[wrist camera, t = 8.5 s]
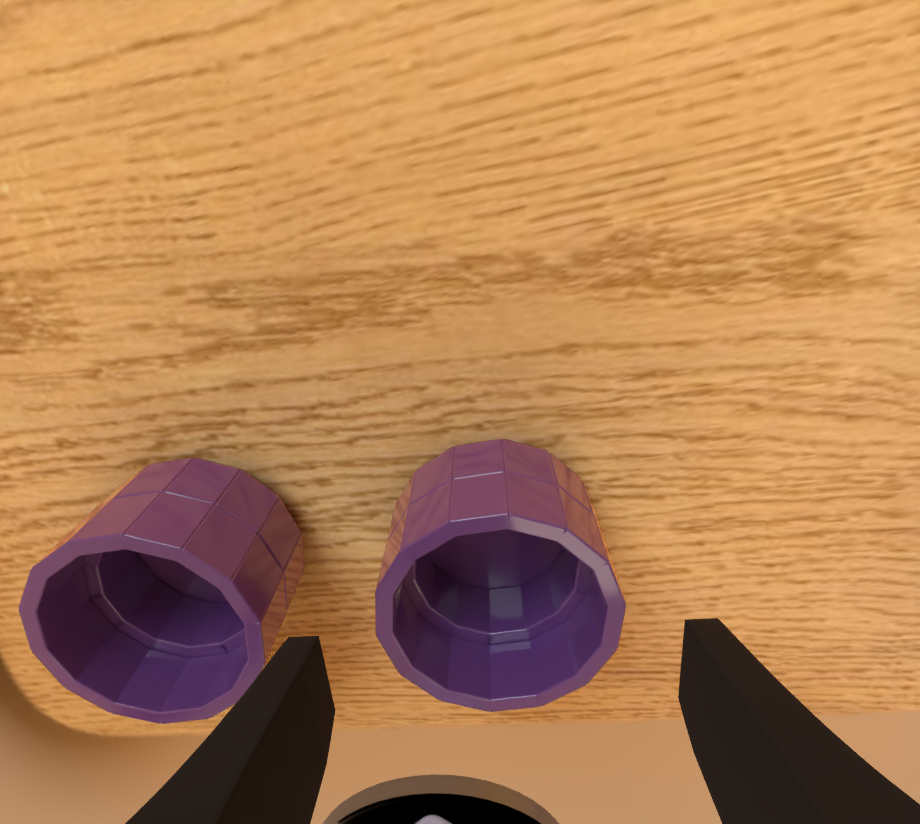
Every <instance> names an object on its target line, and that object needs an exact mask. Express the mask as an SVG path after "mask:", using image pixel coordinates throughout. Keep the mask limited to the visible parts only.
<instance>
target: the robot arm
mask: <svg viewBox="0 0 920 824" xmlns="http://www.w3.org/2000/svg"><path fill="white" fill-rule="evenodd" d="M678 698H679V702H680V705H681V709H682V713H683V716H684V720H685V724H686V727H687V730H688V734H689V737H690V741H691V744H692V748H693V751H694V754H695V756H696V759H697V762H698V764H699V767H700V769H701V771H702V774H703V776H704V779H705V781H706V784H707V787H708V789H709V792H710V794H711V797H712V799H713V802H714V804H715V807H716V809H717V811H718V814H719V816H720V819H721V821H722V824H920V804H918V803H917V802H916V801H915V800H913V799H912V798H911V797H909V796H908V795H907V794H906V793H904V792H903V791H902V790H901V789H899V788H898V787H897V786H895V785H894V784H893V783H891V782H890V781H889V780H888V779H886V778H885V777H884V776H883V775H882V774H880V773H879V772H878V771H877V770H875V769H874V768H873V767H872V766H871V765H870V764H868V763H867V762H866V761H865V760H864V759H863V758H861V757H860V756H859V755H858V754H857V753H856V752H854V751H853V750H852V749H851V748H850V747H849V746H848V745H846V744H845V743H844V742H843V741H842V740H841V739H840V738H838V737H837V736H836V735H835V734H834V733H833V732H832V731H831V730H830V729H829V728H827V727H826V726H825V725H824V724H823V723H822V722H821V721H820V720H819V719H818V718H817V717H815V716H814V715H813V714H812V713H811V712H810V711H809V710H808V709H807V708H806V707H805V706H804V705H803V704H802V703H801V702H800V701H799V700H798V699H797V698H796V697H795V696H794V695H792V694H791V693H790V692H789V691H788V690H787V689H786V688H785V687H784V686H783V685H782V684H781V683H780V682H779V681H778V680H777V679H776V678H775V677H774V676H773V675H772V674H771V673H770V672H769V671H768V670H767V669H766V668H765V667H764V666H763V665H762V664H761V663H760V662H759V661H758V660H757V659H756V658H755V657H754V655H753V654H752V653H751V652H750V651H749V650H748V649H747V648H746V647H745V646H744V645H743V644H742V643H741V642H740V641H739V640H738V639H737V638H736V637H735V636H734V635H733V634H732V633H731V631H730V630H729V629H728V628H727V627H726V626H725V625H724V624H723V623H722V622H721V621H720V620H718V619H717V618H715V619H693V620H685V626H684V638H683V649H682V661H681V672H680V684H679V696H678ZM334 715H335V707H334V703H333V698H332V694H331V689H330V685H329V680H328V676H327V671H326V667H325V662H324V658H323V653H322V649H321V644H320V640H319V636H306V637H289V638H288V639H287V640H286V641H285V642H284V643H283V644H282V646H281V647H280V648H279V649H278V651H277V652H276V653H275V655H274V656H273V657H272V658H271V660H270V661H269V662H268V664H267V665H266V666H265V667H264V669H263V670H262V671H261V673H260V674H259V675H258V676H257V678H256V679H255V680H254V682H253V683H252V684H251V685H250V687H249V688H248V689H247V690H246V692H245V693H244V694H243V695H242V697H241V698H240V699H239V700H238V701H237V703H236V704H235V705H234V706H233V708H232V709H231V710H230V711H229V712H228V714H227V715H226V716H225V717H224V718H223V720H222V721H221V722H220V723H219V724H218V726H217V727H216V728H215V729H214V730H213V732H212V733H211V734H210V735H209V736H208V737H207V739H206V740H205V741H204V742H203V743H202V744H201V745H200V746H199V747H198V748H197V750H196V751H195V752H194V753H193V754H192V755H191V756H190V757H189V759H188V760H187V761H186V762H185V763H184V764H183V765H182V766H181V767H180V768H179V770H178V771H177V772H176V773H175V774H174V775H173V776H172V777H171V778H170V779H169V780H168V781H167V782H166V784H165V785H164V786H163V787H162V788H161V789H160V790H159V791H158V792H157V793H156V794H155V795H154V796H153V797H152V798H151V799H150V800H149V801H148V802H147V803H146V804H145V805H144V806H143V807H142V808H141V809H140V810H139V811H138V812H137V813H136V814H135V815H134V816H133V817H132V818H131V819H130V820H128V821H127V822H126V823H125V824H310V822H311V819H312V814H313V811H314V808H315V804H316V801H317V797H318V793H319V789H320V786H321V782H322V779H323V775H324V771H325V767H326V764H327V758H328V752H329V746H330V741H331V734H332V728H333V721H334ZM410 824H460V823H458V822H457V821H455V820H453V819H452V818H450V817H448V816H447V815H445V814H443V813H442V812H440V811H437V810H428V811H426V812H424V813H423V814H422V815H420V816H419V817H418V818H416V819H415V820H414V821H412V822H411V823H410Z"/></svg>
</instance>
